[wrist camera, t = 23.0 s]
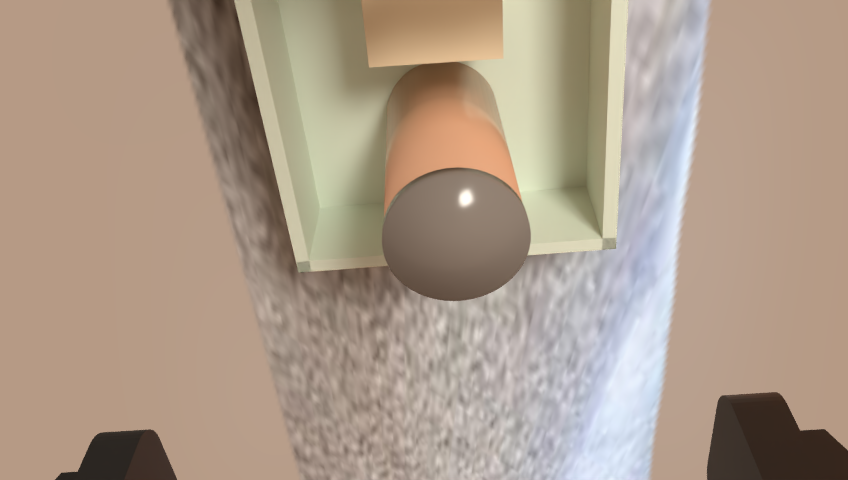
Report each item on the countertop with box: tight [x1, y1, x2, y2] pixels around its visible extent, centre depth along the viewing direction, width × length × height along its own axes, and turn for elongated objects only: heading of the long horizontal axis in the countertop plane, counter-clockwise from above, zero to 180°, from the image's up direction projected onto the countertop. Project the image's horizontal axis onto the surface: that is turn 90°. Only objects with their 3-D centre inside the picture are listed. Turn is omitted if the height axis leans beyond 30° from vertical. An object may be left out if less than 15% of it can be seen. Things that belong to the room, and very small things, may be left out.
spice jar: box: [382, 62, 531, 301], centre depth 32 cm, size 5×5×11 cm
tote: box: [234, 0, 628, 273], centre depth 33 cm, size 17×14×5 cm
